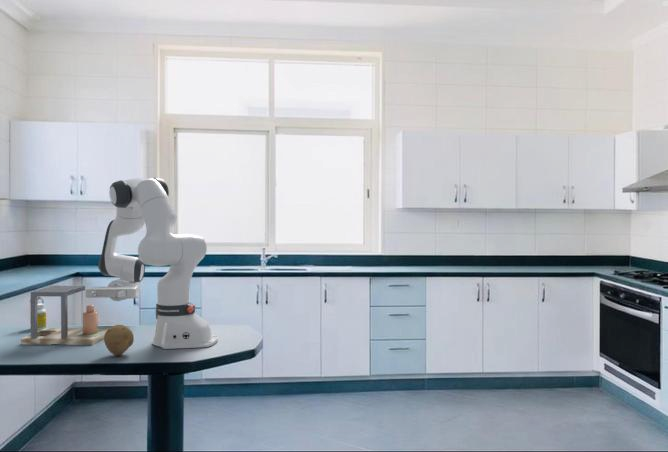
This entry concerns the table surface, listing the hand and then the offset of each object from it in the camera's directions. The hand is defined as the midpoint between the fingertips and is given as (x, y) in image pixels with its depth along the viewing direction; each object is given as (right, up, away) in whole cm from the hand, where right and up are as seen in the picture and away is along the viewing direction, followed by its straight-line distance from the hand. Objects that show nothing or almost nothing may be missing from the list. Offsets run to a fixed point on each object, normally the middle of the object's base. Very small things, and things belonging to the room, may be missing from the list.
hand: (104, 295), depth 200 cm
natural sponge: (+19, -16, -31) cm, 40 cm away
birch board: (-8, -14, -12) cm, 20 cm away
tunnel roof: (-11, -12, -12) cm, 21 cm away
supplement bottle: (-28, -14, +4) cm, 32 cm away
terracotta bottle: (0, -12, -11) cm, 17 cm away
